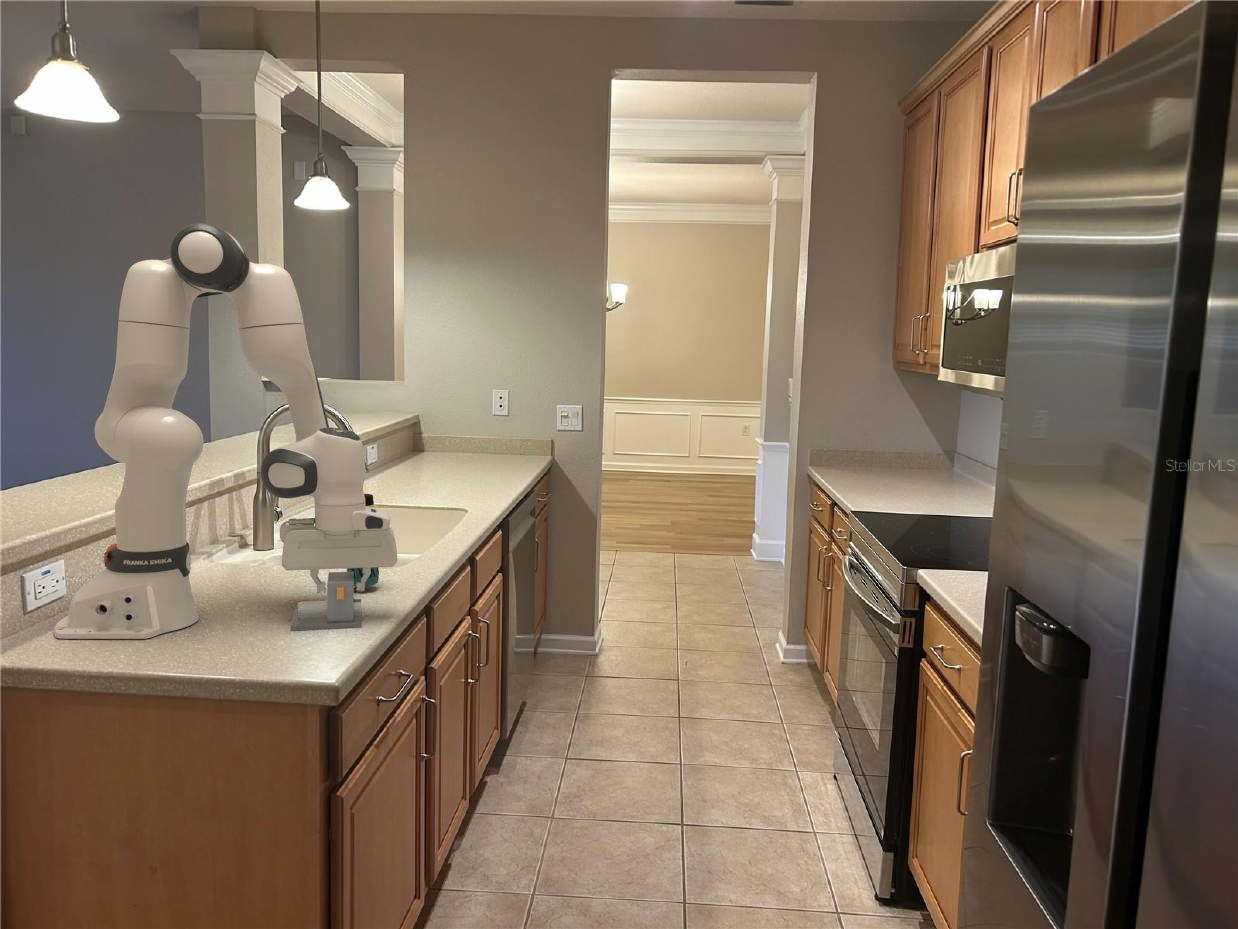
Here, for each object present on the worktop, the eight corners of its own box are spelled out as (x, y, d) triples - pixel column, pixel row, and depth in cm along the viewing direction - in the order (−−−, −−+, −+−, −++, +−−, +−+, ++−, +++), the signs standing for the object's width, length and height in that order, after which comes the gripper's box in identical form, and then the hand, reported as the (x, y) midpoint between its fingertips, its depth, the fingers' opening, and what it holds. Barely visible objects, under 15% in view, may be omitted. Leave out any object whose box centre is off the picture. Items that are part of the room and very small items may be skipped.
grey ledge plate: (290, 631, 161) (290, 611, 161) (294, 614, 171) (294, 596, 170) (361, 627, 165) (361, 608, 164) (361, 611, 174) (361, 593, 174)
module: (327, 622, 163) (327, 584, 162) (328, 608, 172) (328, 572, 171) (353, 621, 165) (353, 583, 164) (353, 607, 173) (353, 571, 172)
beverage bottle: (340, 589, 189) (339, 493, 186) (370, 583, 193) (369, 490, 190) (356, 596, 184) (355, 498, 181) (386, 590, 189) (385, 494, 186)
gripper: (277, 522, 160) (279, 599, 162) (397, 519, 166) (398, 593, 167) (280, 515, 166) (282, 589, 168) (396, 513, 172) (396, 584, 173)
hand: (341, 591), depth 168 cm, fingers open, 5 cm apart
